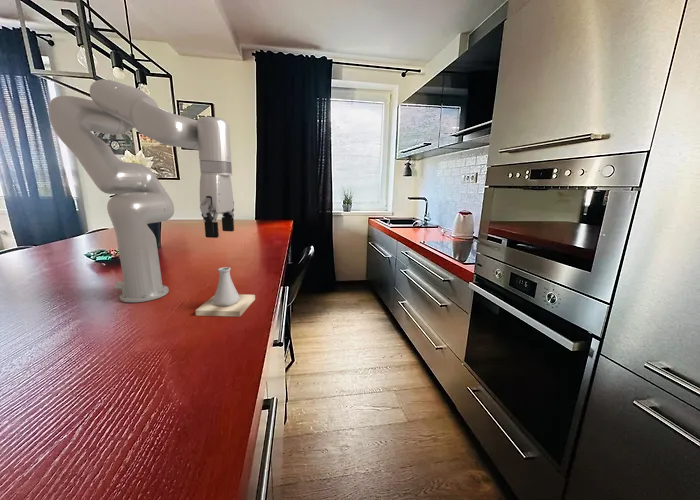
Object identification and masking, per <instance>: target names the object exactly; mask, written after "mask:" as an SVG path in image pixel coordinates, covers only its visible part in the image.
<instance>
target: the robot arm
mask: <svg viewBox="0 0 700 500" xmlns="http://www.w3.org/2000/svg"><path fill="white" fill-rule="evenodd" d="M89 95H90V99H87V98H83V97H78V96H73V95H72V96H71V95H59V96H55V97H54V98H52V99H51V100H50V102H49V103H48V107H47V108H48V117H49V121H50V125H51V127H52V128H53V131H54V133H55V134H56V135H57V136H58V138H59V139H60V140H61V141H62V143H63V144H64V145H65V146H66V147H67V148H68V149H69V151H70V152H72V153H73V154H74V156H75V157H76V158H77V160H78V161H79V163H80V164H81V166H82V167H83V169H84V170H85V171H86V172H87V175H88V176H89V178H91V181H92V182H93V183H94V185H95V186H96V187H97V188H98V189H99V190H100V191H101V192H102V193H105V194H108V195H113V196H112V197H110V199H108V202H107V204H106V205H107V206H106V208H107V214H108V216H109V219H110V221H111V223H112V226H113V229H114V233H115V237H116V242H117V248H118V254H119V260H120V267H121V273H122V277H123V278H122V279H123V280H122V281H117V282H115V285H114V286H113V289H114V290H117V291H118V290H121V293H120V294H119V300H120V301H121V302H124V303H132V304H133V303H144V302H148V301H153V300H157V299H160V298H162V297H164V296H166V295H167V294H168V293H169V291H170V290H169V287H168V286H167V285H163V281H162V275H161V274H162V271H161V265H160V259H159V249H158V245H157V244H158V243H157V242H158V241H157V238H156V236H155V233H154V232H153V230H152V229H151V228H150V227H149V226H148V225H149V224H155V223H161V222H166V221H168V220H170V219H171V218H172V217H173V216H174V213H175V206H174V202H173V200H172V198H171V197H170V195H169V193H168V192H167V191H166V189H165V187H164V186H163V185H162V183H161V182H160V180H159V179H158V177H157V176H156V174H155V173H154V172H153V171H152V170H151V169H150V168H149V167H147V166H146V165H144V164H142V163H138V162H127V161H122V160H120V159H119V158H118V157H117V155H116V154H115V153H114V151H113V150H112V149H111V147H110V146H109V145H108V144H107V143H106V142H105V141H104V140H103V139H101V138H100V137H98V136H97V135H95V134H94V133H101V134H107V135H112V136H113V135H115V136H118V135H119V136H120V135H124V134H126V133H127V132H129V131H132V130H133V129H135V130H136V131H137V132H138V133H139V134H141V135H142V136H145V137H147V138H149V139H150V140H153V141H156V142H158V143H159V144H162V145H165V146H169V147H176V148H182V149H188V150H194V151H195V150H197V151H198V157H199V169H200V171H199V172H200V179H199V210H200V212H201V217H202V221H203V223H204V233H205V234H204V235H205V236H204V237H206V238H208V239H218V238H219V236H220V233H219V223H218V221H217V220H218V216H219V215H222V217H221V226H222V227H221V228H222V232H234V231H235V222H234V221H235V219H234V217H235V214H234V211H235V207H234V206H235V201H234V194H233V186H232V179H231V176H233V170H232V169H233V167H232V165H233V164H232V151H231V150H232V149H231V135H230V134H231V132H230V124H229V122H228V121H227V120H225V119H223V118H220V117H215V116H202V117H199V118H197V119H193V118H190V117H187V116H183V115H179V114H175V113H171V112H168V111H166V110H163V109H161V108H160V107H159V104H158V103H157V102H156V101H155V100H154V99H153V98H152V97H150V96H149V95H148V94H147V93H146V91H143V90H141V89H139V88H136V87H133V86H130V85H127V84H123V83H121V82H119V81H116V80H111V79H105V78H104V79H98V80H95V81H93V82H92V84H91V85H90V86H89ZM93 132H94V133H93Z"/></svg>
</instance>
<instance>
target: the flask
mask: <svg viewBox="0 0 700 500" xmlns="http://www.w3.org/2000/svg"><path fill="white" fill-rule="evenodd" d="M217 272H218V273H219V276H218V277H219V278H218V283H217V288H216V291H215V294H214V295H215V297H214V300H213V303H212V304H215V305H217V306H230V305H232V304H235V303H237V302H239V300H240V299H241V298H240V296H239V294H240V293H238V290H237V289H236V286H235V285H234V282H233V280H232V277H231V267H227V266H224V267H218V269H217Z"/></svg>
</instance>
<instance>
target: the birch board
mask: <svg viewBox="0 0 700 500" xmlns="http://www.w3.org/2000/svg"><path fill="white" fill-rule="evenodd" d="M238 294H239V296H240V298H241V299H240V300H239V302H237V303H235V304H232V305H230V306H217V305H215V304H212V303H213V300H214V297H215V294H214V295H213V296H211V297H210V298H209V299H208V300H207V301H204V302H203V304H201V305H200V306H199V307H198V308H196V309H195V316H199V317H200V316H204V317H207V316H208V317H237V318H238V317H241V316H242V315H243V314H244V313H245V312H246V310H247V309H248V308H249V307H250V306H251V305H252V304H253V302H254V301H255V300H256V295H255V294H241V293H238Z"/></svg>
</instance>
